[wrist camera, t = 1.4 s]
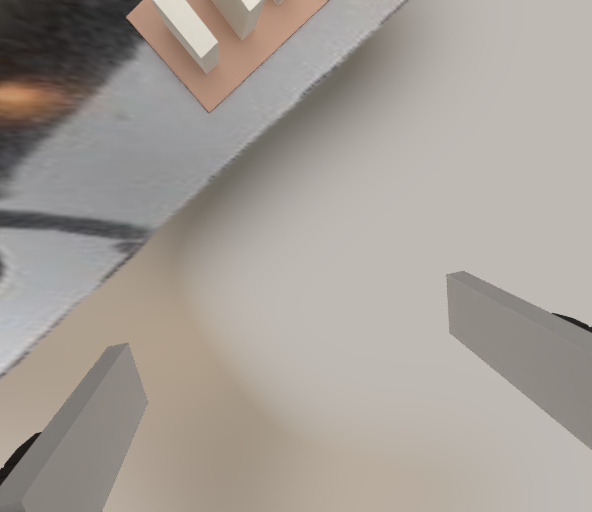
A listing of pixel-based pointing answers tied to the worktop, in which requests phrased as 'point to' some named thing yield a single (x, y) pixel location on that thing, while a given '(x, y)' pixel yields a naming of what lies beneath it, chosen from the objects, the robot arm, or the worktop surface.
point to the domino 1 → (189, 31)
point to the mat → (222, 43)
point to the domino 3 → (278, 2)
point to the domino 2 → (240, 14)
